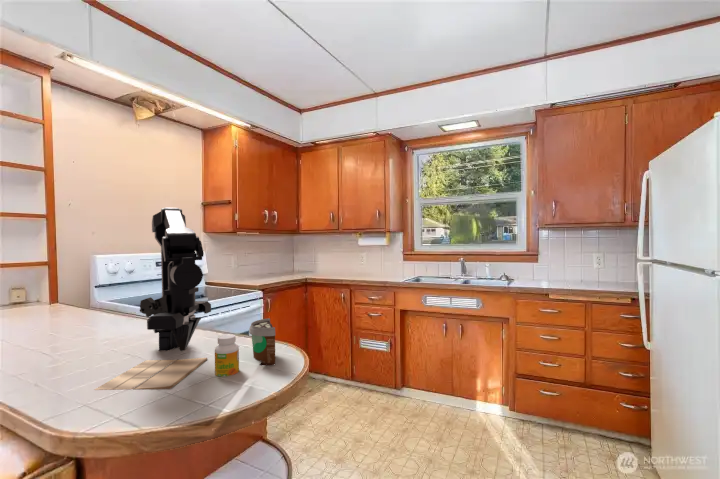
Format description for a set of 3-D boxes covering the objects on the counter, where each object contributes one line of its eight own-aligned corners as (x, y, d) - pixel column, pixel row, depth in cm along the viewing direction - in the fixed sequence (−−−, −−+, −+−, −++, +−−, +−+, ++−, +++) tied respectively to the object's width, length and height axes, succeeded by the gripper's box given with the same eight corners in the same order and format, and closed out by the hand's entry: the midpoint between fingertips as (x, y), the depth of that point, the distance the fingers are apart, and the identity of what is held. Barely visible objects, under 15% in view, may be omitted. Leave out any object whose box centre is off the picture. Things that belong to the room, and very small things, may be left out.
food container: (248, 355, 100) (247, 319, 100) (270, 352, 102) (269, 317, 102) (250, 370, 88) (250, 330, 88) (276, 366, 90) (275, 327, 90)
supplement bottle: (213, 382, 81) (213, 340, 81) (216, 374, 86) (215, 334, 86) (238, 379, 82) (237, 338, 82) (239, 371, 88) (239, 332, 87)
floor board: (145, 364, 93) (145, 360, 93) (176, 364, 93) (175, 359, 93) (94, 395, 75) (94, 389, 75) (131, 394, 75) (131, 388, 75)
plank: (177, 364, 93) (177, 359, 93) (207, 362, 93) (207, 357, 93) (133, 394, 75) (132, 388, 75) (170, 391, 75) (170, 385, 75)
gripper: (169, 280, 93) (170, 339, 93) (121, 291, 75) (122, 364, 75) (211, 279, 93) (212, 338, 93) (173, 290, 75) (175, 364, 75)
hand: (183, 350), depth 84 cm, fingers closed
